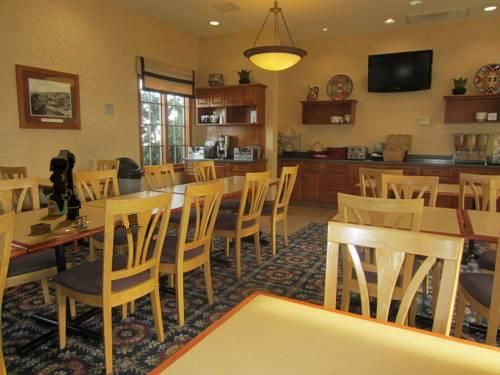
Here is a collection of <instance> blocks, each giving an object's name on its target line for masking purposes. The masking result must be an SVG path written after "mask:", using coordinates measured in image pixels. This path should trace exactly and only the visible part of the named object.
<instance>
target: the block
mask: <svg viewBox="0 0 500 375" xmlns="http://www.w3.org/2000/svg"><path fill="white" fill-rule="evenodd" d="M56 205H57V203H56ZM66 213H68V211H67V200H66V201H65V204H64V208H63V211H62V212H60V210H59V208H58V205H57V214H64V215H66Z"/></svg>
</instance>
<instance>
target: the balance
mask: <svg viewBox="0 0 500 375" xmlns="http://www.w3.org/2000/svg"><path fill="white" fill-rule="evenodd" d="M77 218H79V219H77ZM83 218H85V219H86V220H85V221H83V220H84V219H83ZM87 224H88V225H89V224H92V221H91V220H88V215H81V216H80V215H79V217H76V219H75V220H74V222H72V223H71V225H72V226H76V228H78V229H81V230H82V229H87V228H88V227H89V226H88V225H87Z"/></svg>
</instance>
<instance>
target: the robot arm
mask: <svg viewBox="0 0 500 375" xmlns="http://www.w3.org/2000/svg"><path fill="white" fill-rule="evenodd" d="M76 164H77V159H76V155H75V154H74V153H72V152H71V151H70V150H69V149H61V150H59V152H58V155H57V156H53V157H51V159H50V161H49V172H50V173H51V172H52V173H51V174H50V176H49V181H50V182H51V183H52V186H51V187H44V188H42V191H41V193H42V194H43V195H44V197H47V196H48V195H49V196H48V198H49V200H53V201H55V202H56V203H57V205H58V208H59V210H60V212H62V211H63V208H64V204H65V201H66V200H67V211H68V213H66V214H65V215H66V217H65V219H67V220H70V221H75V220H76V217H79V216H80V210H81V209H82V202H81V201H80V199H79V195H78V194H77V193H76V191H75V190H76V189H75V180H74V170H73V169H74V167H75V166H76ZM77 220H80V218H77Z"/></svg>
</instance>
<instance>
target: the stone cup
mask: <svg viewBox="0 0 500 375" xmlns="http://www.w3.org/2000/svg"><path fill="white" fill-rule="evenodd" d="M121 219H122V218H120V219H117V220H115V221H114V225H115V227H124V226H123V225H122V221H121ZM128 219H129V223H130V226H136V225H139V224H138V223H137V214H131V215H128ZM130 226H129V227H130Z"/></svg>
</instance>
